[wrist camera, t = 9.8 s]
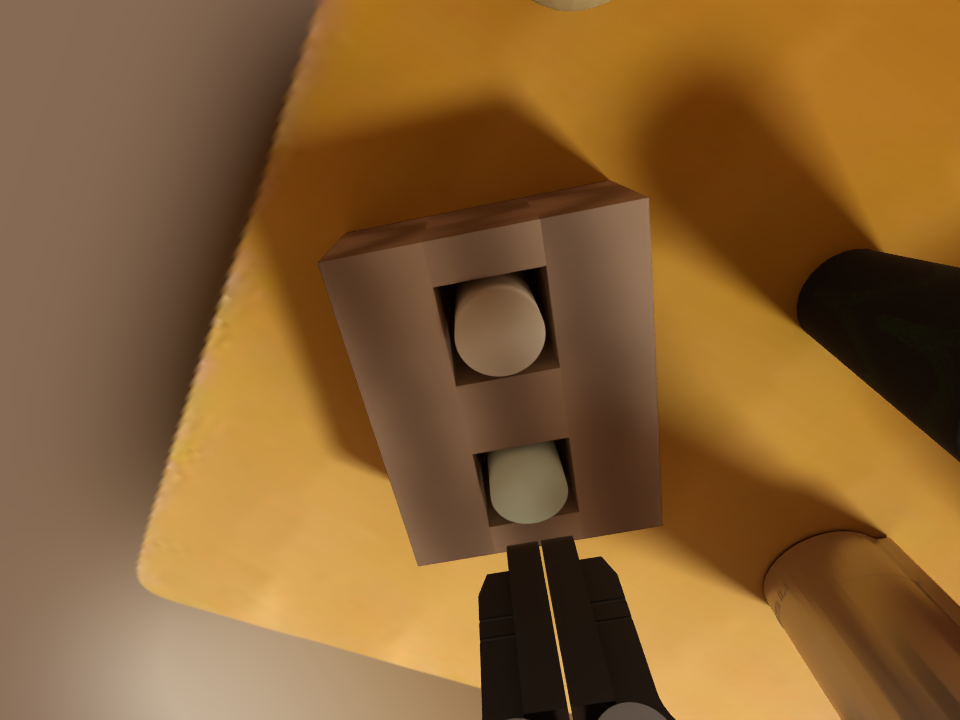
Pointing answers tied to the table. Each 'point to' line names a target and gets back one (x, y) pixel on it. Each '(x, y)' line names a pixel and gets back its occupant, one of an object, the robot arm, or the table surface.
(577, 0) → the light bulb
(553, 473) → the peg sage
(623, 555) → the table surface
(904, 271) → the cup
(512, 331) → the peg birch
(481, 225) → the socket block
